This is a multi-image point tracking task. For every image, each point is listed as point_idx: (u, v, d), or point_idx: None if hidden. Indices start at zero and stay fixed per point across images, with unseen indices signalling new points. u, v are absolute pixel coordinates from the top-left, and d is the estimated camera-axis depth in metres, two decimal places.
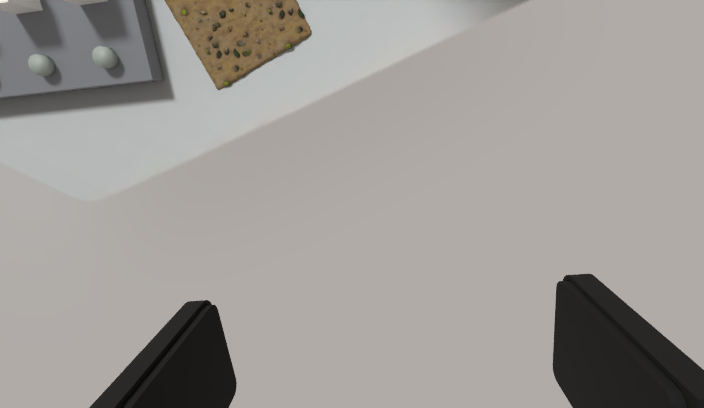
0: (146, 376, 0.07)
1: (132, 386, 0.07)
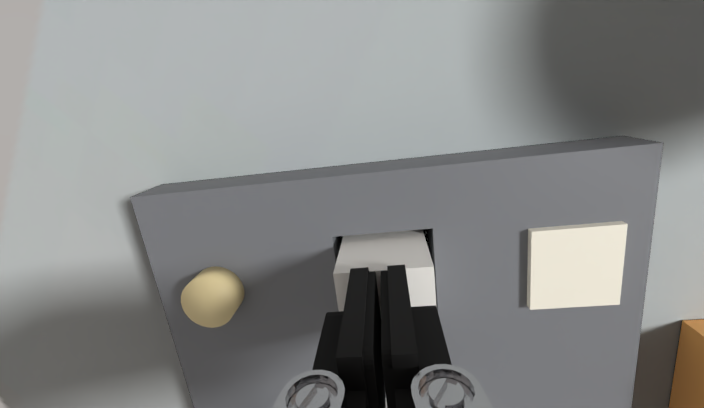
0: (364, 325, 0.08)
1: (363, 332, 0.08)
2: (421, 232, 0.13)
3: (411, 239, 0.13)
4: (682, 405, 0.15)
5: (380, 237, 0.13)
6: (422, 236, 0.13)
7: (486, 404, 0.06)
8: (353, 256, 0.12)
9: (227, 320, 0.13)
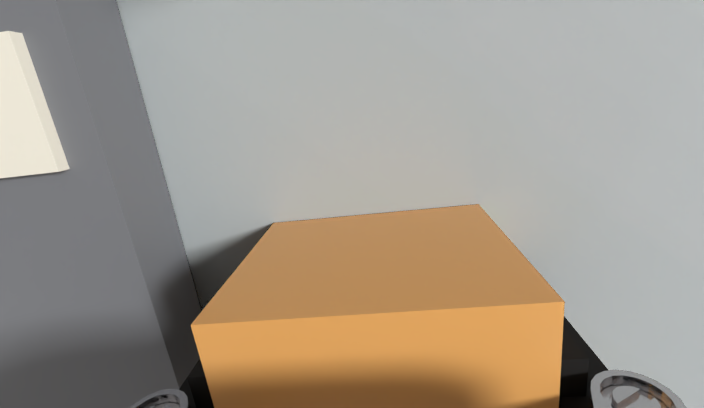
0: None
1: None
2: None
3: None
4: None
5: None
6: None
7: None
8: None
9: None
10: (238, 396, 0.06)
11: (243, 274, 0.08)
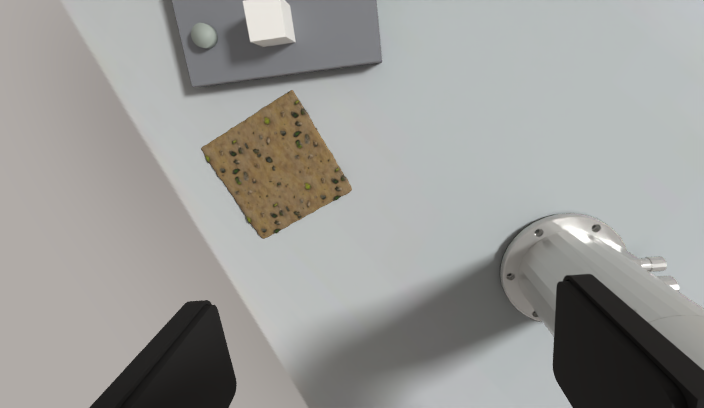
0: (146, 376, 0.07)
1: (132, 386, 0.07)
2: None
3: None
4: None
5: None
6: None
7: None
8: None
9: None
10: None
11: None
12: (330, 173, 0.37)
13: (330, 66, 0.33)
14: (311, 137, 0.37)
